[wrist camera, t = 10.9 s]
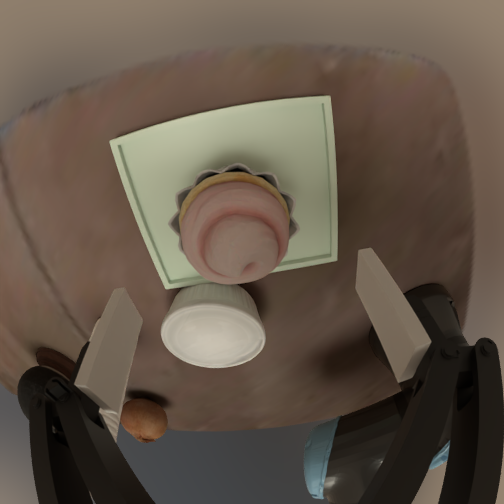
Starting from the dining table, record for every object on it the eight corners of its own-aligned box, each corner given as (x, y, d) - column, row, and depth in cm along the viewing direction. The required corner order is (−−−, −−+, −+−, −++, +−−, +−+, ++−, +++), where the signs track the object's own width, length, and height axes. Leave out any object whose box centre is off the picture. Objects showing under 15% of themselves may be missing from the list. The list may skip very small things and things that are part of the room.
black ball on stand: (33, 361, 40) (13, 417, 27) (33, 334, 34) (4, 401, 22) (84, 388, 45) (70, 446, 32) (93, 368, 39) (74, 439, 27)
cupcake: (214, 259, 26) (207, 342, 18) (161, 179, 22) (119, 243, 13) (304, 221, 25) (336, 297, 16) (262, 128, 20) (282, 160, 11)
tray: (324, 95, 19) (330, 95, 18) (333, 252, 28) (337, 260, 27) (115, 137, 20) (109, 141, 19) (168, 280, 29) (165, 289, 27)
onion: (175, 398, 45) (171, 443, 37) (162, 411, 49) (158, 451, 41) (128, 383, 42) (119, 429, 34) (121, 398, 46) (114, 438, 38)
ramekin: (232, 345, 36) (233, 377, 31) (155, 317, 32) (147, 350, 28) (280, 293, 31) (288, 328, 26) (190, 253, 27) (183, 288, 23)
